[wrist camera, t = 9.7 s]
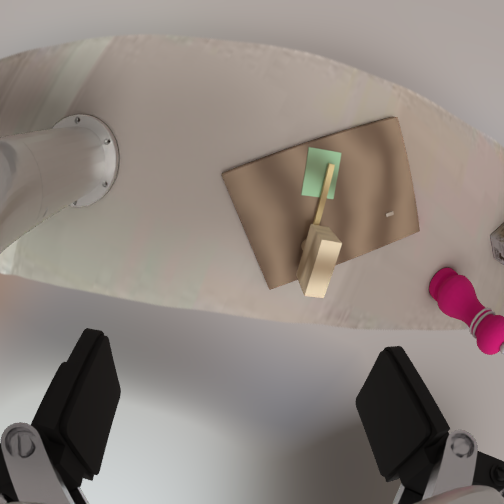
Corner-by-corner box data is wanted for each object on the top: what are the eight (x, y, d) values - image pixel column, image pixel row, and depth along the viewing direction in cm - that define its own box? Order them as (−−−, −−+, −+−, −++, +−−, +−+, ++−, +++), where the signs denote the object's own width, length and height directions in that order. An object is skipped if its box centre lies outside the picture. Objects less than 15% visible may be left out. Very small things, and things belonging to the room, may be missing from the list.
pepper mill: (448, 256, 43) (523, 322, 25) (460, 279, 46) (526, 343, 28) (420, 285, 45) (487, 361, 27) (435, 306, 48) (493, 377, 30)
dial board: (268, 284, 43) (269, 290, 41) (222, 173, 36) (221, 175, 35) (414, 227, 41) (420, 231, 39) (392, 116, 34) (398, 117, 32)
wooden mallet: (310, 270, 40) (323, 298, 34) (293, 267, 40) (304, 295, 34) (339, 165, 35) (361, 176, 28) (321, 161, 34) (340, 170, 28)
